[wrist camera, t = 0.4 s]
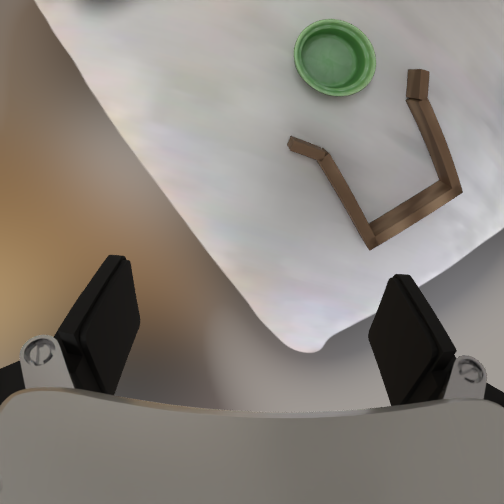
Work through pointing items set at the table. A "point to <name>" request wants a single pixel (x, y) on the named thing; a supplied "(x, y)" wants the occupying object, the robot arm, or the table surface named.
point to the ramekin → (334, 57)
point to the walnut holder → (417, 204)
